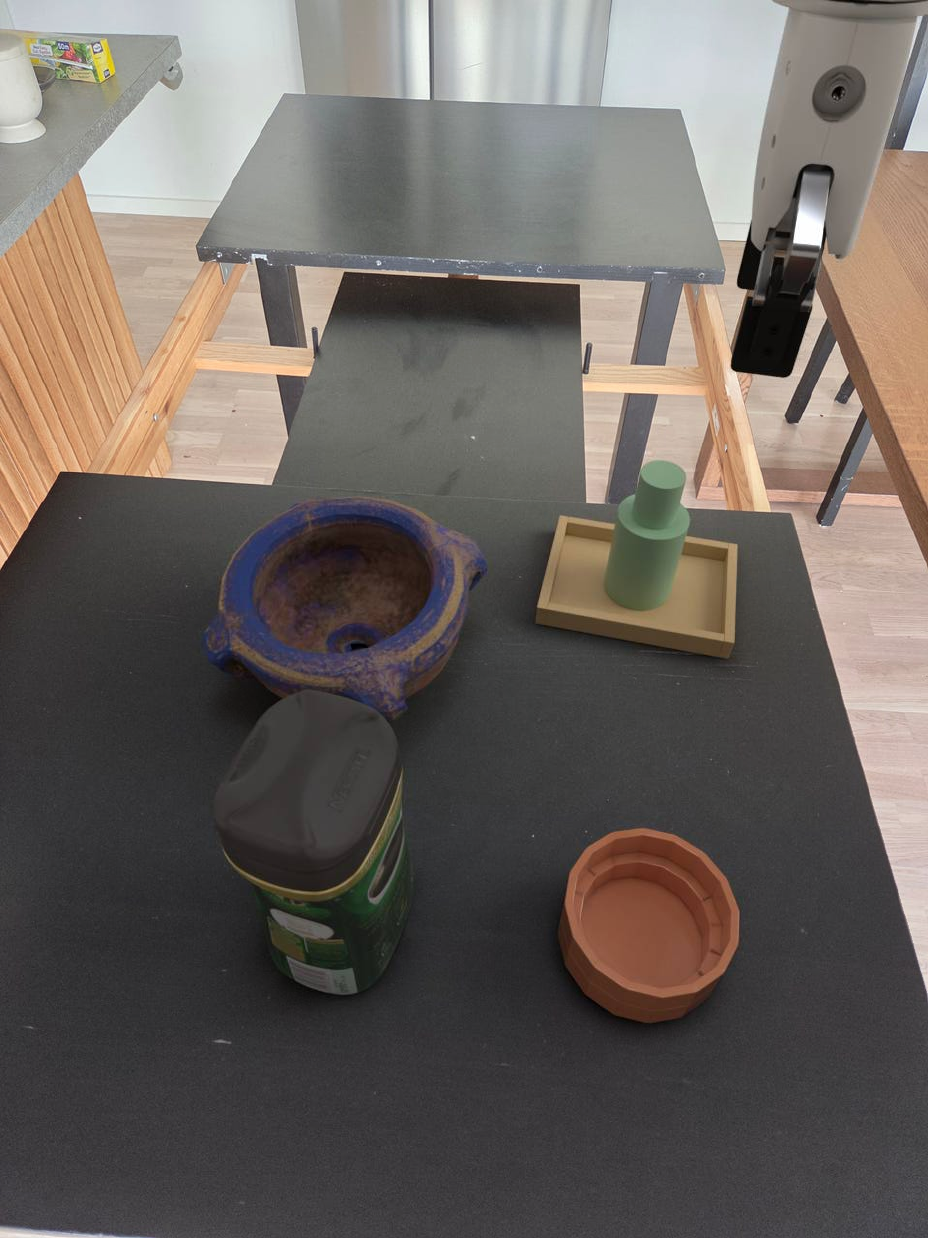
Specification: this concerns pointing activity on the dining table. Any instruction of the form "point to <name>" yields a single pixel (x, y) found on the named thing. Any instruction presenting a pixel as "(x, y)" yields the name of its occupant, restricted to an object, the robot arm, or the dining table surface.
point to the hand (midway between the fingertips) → (760, 327)
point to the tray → (683, 622)
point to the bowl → (345, 601)
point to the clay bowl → (647, 924)
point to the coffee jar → (321, 838)
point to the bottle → (648, 538)
